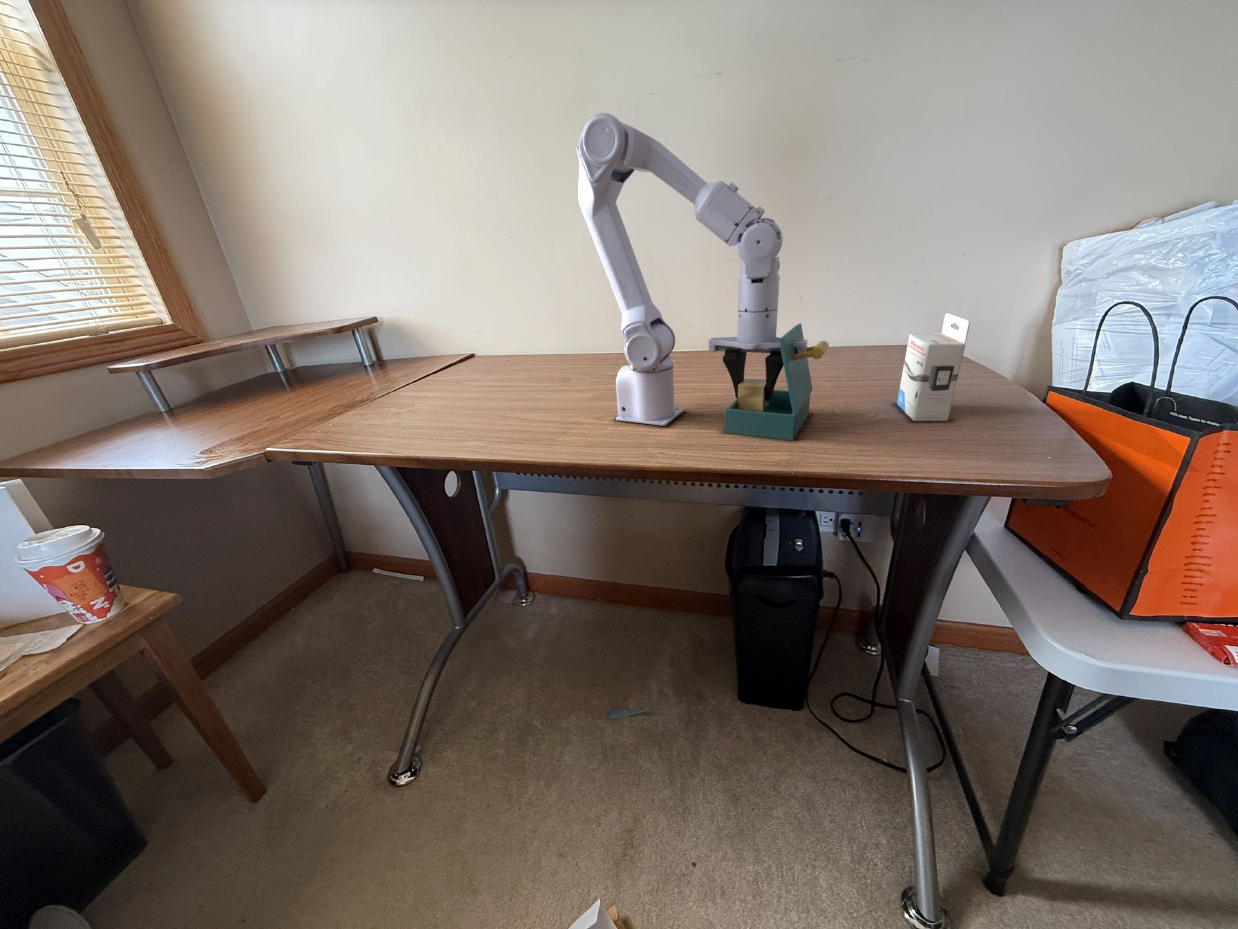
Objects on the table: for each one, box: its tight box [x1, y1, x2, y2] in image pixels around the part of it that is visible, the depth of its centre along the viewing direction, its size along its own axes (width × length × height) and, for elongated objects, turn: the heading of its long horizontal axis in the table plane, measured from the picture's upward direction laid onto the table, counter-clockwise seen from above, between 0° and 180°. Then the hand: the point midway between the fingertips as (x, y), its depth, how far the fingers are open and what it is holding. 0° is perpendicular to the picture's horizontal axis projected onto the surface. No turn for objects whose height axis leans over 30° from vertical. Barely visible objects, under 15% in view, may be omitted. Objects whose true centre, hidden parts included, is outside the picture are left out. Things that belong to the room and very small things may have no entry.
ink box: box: [896, 312, 971, 422], centre depth 73 cm, size 9×5×15 cm, turn 168°
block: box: [738, 378, 769, 411], centre depth 76 cm, size 4×4×4 cm
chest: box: [724, 389, 812, 441], centre depth 76 cm, size 10×12×4 cm
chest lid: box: [779, 323, 830, 414], centre depth 70 cm, size 11×12×5 cm
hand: (753, 397), depth 76 cm, fingers closed on block, 4 cm apart
